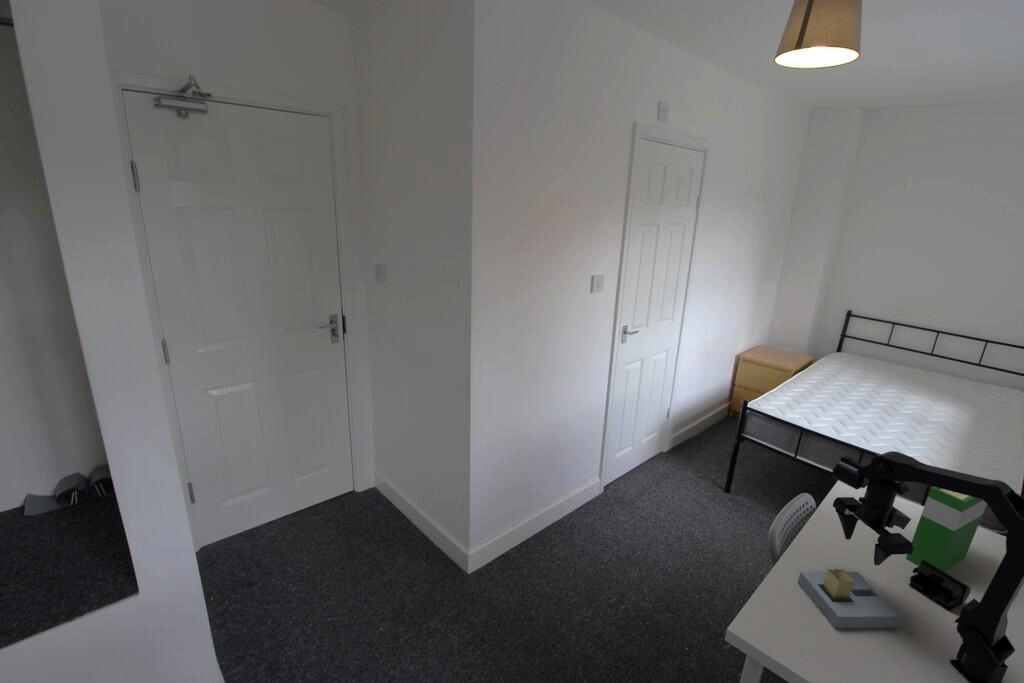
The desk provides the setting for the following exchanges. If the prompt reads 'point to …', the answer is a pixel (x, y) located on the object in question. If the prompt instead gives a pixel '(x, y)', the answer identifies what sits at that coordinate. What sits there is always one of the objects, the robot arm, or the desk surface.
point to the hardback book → (946, 528)
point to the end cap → (939, 586)
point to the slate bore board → (851, 603)
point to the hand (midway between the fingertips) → (861, 551)
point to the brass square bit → (838, 585)
